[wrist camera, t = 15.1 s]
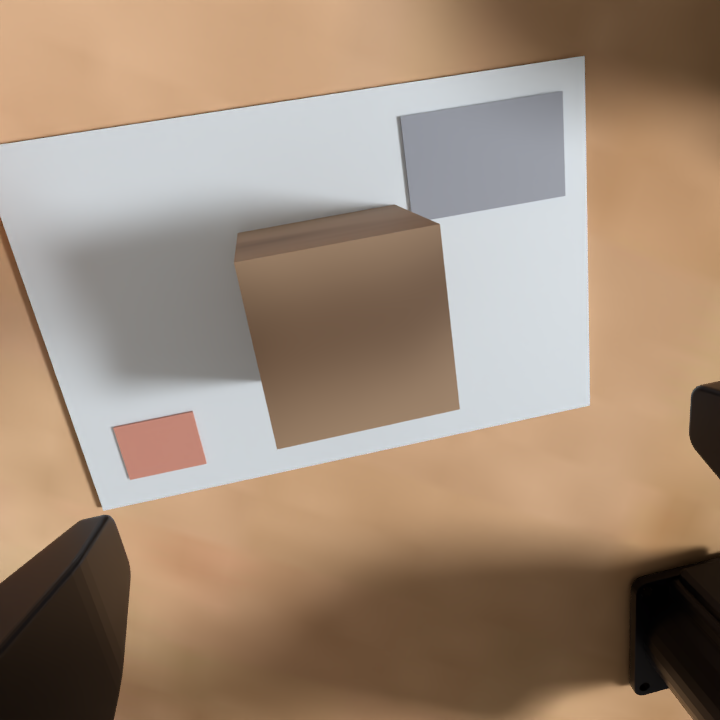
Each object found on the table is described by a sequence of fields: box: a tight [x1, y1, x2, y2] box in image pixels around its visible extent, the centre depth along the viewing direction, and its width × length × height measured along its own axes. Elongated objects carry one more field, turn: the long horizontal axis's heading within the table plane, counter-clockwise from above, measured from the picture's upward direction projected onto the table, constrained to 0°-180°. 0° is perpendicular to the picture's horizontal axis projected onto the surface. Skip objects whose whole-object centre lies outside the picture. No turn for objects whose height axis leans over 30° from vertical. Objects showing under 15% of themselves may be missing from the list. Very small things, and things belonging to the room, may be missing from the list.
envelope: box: [0, 56, 590, 511], centre depth 20 cm, size 12×18×1 cm, turn 98°
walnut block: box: [234, 204, 460, 449], centre depth 18 cm, size 5×5×5 cm
